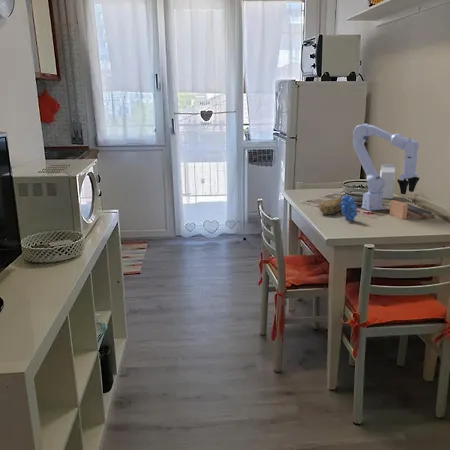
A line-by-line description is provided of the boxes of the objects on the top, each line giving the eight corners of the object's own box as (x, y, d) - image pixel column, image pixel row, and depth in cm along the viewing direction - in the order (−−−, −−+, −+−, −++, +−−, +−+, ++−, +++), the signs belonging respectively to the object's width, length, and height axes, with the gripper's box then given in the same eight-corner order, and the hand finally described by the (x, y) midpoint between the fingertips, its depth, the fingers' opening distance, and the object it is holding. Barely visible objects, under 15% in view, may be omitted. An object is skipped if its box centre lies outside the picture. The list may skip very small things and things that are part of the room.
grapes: (332, 217, 225) (334, 193, 222) (344, 216, 228) (345, 192, 224) (347, 224, 215) (349, 198, 212) (359, 222, 217) (361, 197, 214)
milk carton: (392, 198, 261) (395, 165, 256) (379, 198, 263) (382, 165, 257) (391, 196, 268) (393, 163, 262) (378, 195, 269) (380, 163, 264)
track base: (418, 219, 220) (418, 213, 220) (395, 210, 237) (395, 204, 236) (434, 217, 223) (435, 211, 222) (410, 208, 239) (410, 203, 238)
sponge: (340, 209, 246) (309, 205, 238) (345, 195, 244) (314, 191, 235) (355, 219, 236) (323, 216, 227) (360, 205, 233) (328, 201, 224)
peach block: (402, 219, 221) (403, 204, 220) (389, 214, 231) (390, 200, 229) (406, 218, 222) (407, 204, 220) (393, 213, 231) (395, 200, 229)
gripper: (409, 168, 219) (407, 196, 223) (425, 164, 228) (422, 191, 232) (396, 166, 225) (393, 194, 228) (411, 163, 233) (409, 189, 237)
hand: (407, 192), depth 231 cm, fingers open, 7 cm apart
